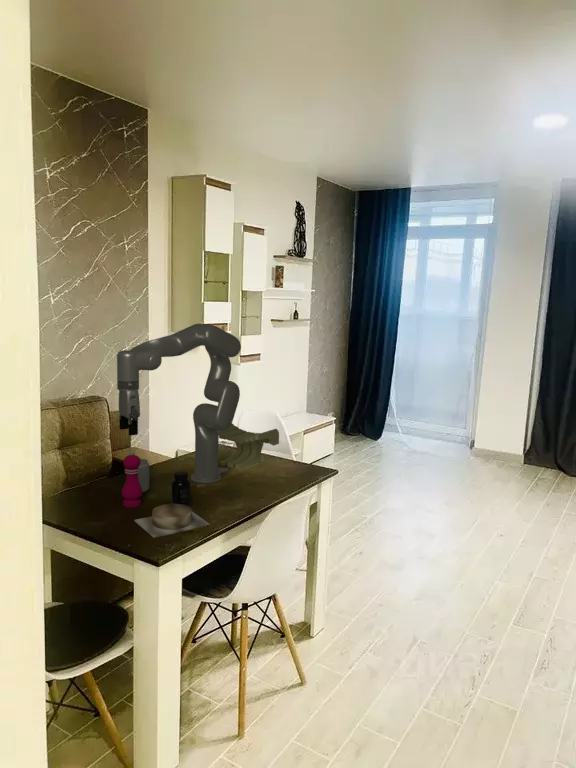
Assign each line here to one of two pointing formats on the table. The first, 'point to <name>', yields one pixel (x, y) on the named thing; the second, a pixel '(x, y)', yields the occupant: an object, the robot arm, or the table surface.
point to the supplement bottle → (181, 489)
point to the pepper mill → (132, 481)
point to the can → (144, 475)
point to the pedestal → (171, 520)
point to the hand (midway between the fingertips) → (128, 431)
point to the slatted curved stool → (247, 445)
